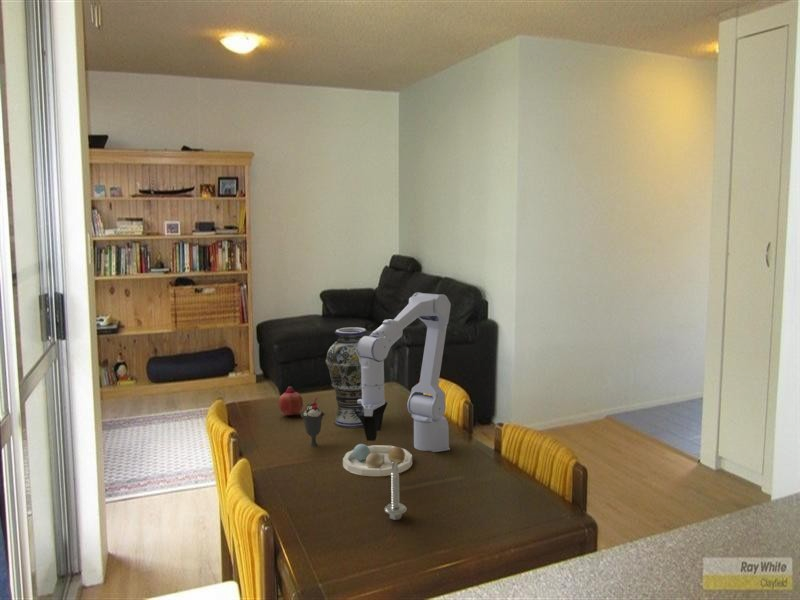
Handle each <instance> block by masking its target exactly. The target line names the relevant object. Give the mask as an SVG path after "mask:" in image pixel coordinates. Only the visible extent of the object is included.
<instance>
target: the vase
mask: <svg viewBox="0 0 800 600" xmlns="http://www.w3.org/2000/svg"><path fill="white" fill-rule="evenodd" d="M367 333H368V330H367V329H366V328H365V327H364V328H363V327H355V326H353V327H349V326H348V327H342V328H341V327H340V328H338V329H336V330H335V331H334V334H335V335H337V336H338V339H337V340H336V341H335V342H334V343H333V344H332V345H331V346H330V347H329V349H328V350H327V353H326V358H325V364H326V366H327V369H328V372H329V376H330V379H331V386H332V387H333V389H334V392H335V396H336V397H335V398H336V399H335V400H336V403H337V404H336V405H337V412H336V415H335V419H334V425H335V426H337V427H339V428H346V429H357V428H362V427H363V424H362V422H361V420H360V419H359V413H360V412H364V408H363V406H362V404H358V403H357V401H358V399H362V378H361V365H360V363H359V357H358V356H357V354H356V348H357V344H358V341H359V340H360V339H361V338H362V337H364V336H365V335H366V334H367ZM363 428H364V427H363Z"/></svg>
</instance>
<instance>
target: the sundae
mask: <svg viewBox="0 0 800 600" xmlns="http://www.w3.org/2000/svg"><path fill="white" fill-rule="evenodd" d="M316 401H318V397H316V398H315V399H314V401H313V402H312V403H310V404H309V403H308V404H307V405H306V409H305V411H303V412H301V413H300V416H301V418H303V421H304V427H305V432H306V434H307V435H308V436H310V438H311V443H310V445H309V447H313V448H315V447H318V446H319V444H318V443H317V439H316V437H317V436H318V435H319V434H320V432H321V430H322V419H323V417H324V416H325V415H326V413H325V412H323V411H322V410H321V409H320V407H319V405H317V404H318V403H317V402H316Z"/></svg>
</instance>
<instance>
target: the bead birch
mask: <svg viewBox="0 0 800 600" xmlns="http://www.w3.org/2000/svg"><path fill="white" fill-rule="evenodd" d="M382 464H383V459H382V456H381V455H380V454H378V453H376V452H373V453H370V454H369V455H368V456H367V458H366V465H367V467H368V468H380V467H381V466H382Z"/></svg>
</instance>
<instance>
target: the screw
mask: <svg viewBox="0 0 800 600" xmlns="http://www.w3.org/2000/svg"><path fill="white" fill-rule="evenodd" d="M391 474H392V475H390V477H391V478H390V480H391V481H390V482H391V483H390V488H391V489H390V490H391V491H390V493H391V494H390V495H391V496H390V500H391V501H390V503H388V504H387V505H385V507H384V513H387V514H389V519H390V520H393V521H397V520H398V521H399V520H401V519H402V515H403V514H404V513H405V512H407V506H406V505H404V504H403V503H401V502H400V473H399V471H398V462H397V461H393V462H392V473H391Z"/></svg>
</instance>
